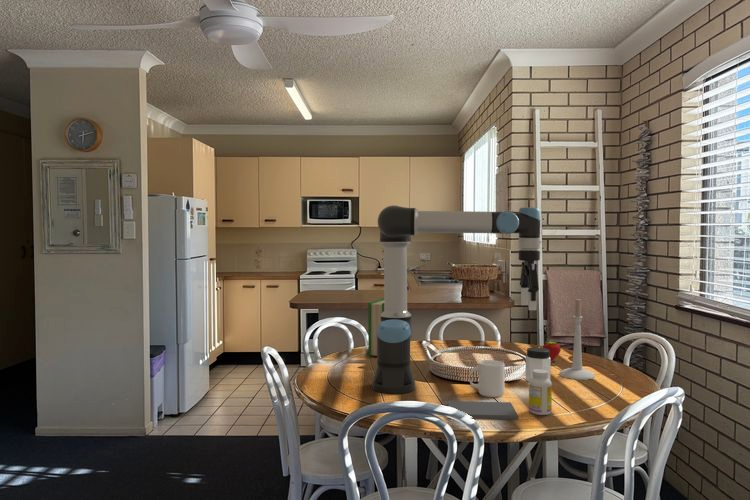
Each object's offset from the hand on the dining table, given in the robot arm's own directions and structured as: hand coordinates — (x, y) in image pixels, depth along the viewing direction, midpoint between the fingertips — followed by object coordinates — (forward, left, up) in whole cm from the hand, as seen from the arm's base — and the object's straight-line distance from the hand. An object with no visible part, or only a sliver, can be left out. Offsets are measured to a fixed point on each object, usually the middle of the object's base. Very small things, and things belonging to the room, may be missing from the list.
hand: (528, 307), depth 209 cm
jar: (+4, +1, -28) cm, 28 cm away
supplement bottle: (-3, -35, -28) cm, 45 cm away
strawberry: (+17, +35, -28) cm, 48 cm away
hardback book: (-56, +44, -28) cm, 76 cm away
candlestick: (+21, +11, -28) cm, 37 cm away
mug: (-17, -16, -28) cm, 36 cm away
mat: (-21, -36, -28) cm, 50 cm away
